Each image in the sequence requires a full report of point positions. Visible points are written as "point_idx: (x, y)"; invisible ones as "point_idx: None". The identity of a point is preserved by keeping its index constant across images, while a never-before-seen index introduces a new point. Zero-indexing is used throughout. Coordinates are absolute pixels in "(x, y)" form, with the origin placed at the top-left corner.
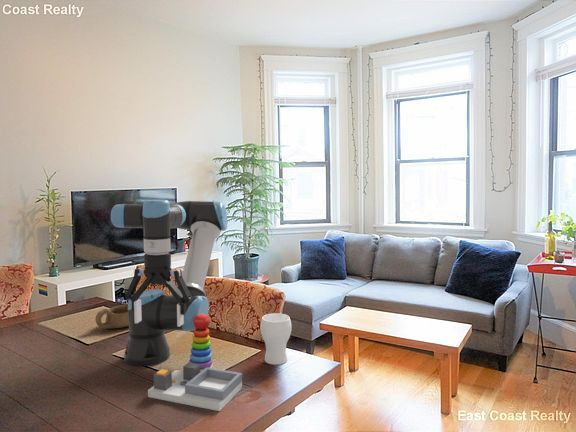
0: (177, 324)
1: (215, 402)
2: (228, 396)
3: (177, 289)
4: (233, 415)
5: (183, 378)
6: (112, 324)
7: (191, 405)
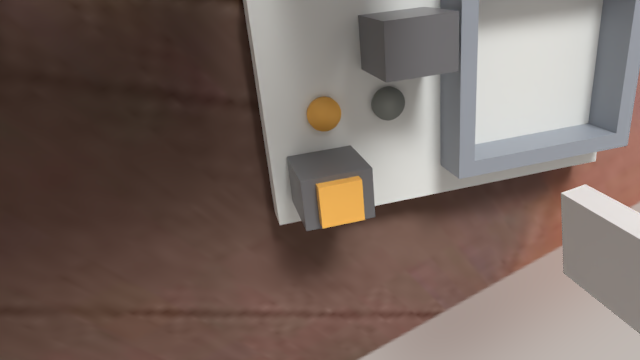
0: (580, 284)
1: (578, 159)
2: None
3: None
4: (624, 149)
5: (364, 70)
6: None
7: None
